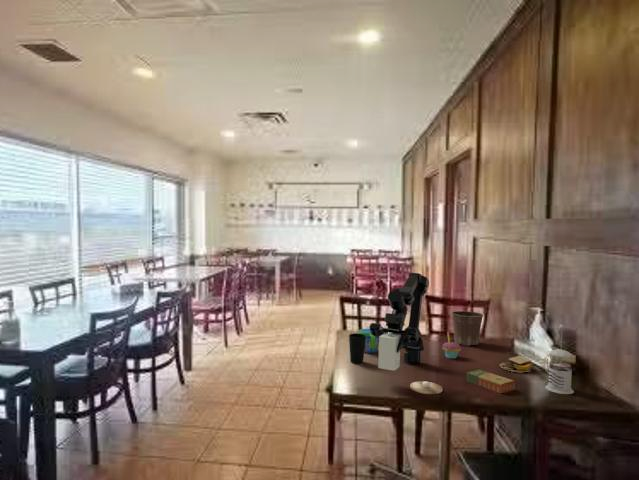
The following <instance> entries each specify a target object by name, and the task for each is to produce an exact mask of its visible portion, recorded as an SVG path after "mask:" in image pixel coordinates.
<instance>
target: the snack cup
mask: <svg viewBox="0 0 639 480" xmlns="http://www.w3.org/2000/svg"><path fill="white" fill-rule="evenodd" d="M358 334H364V335H366V342H365V350H364V353H366V354H367V353H368V354H374V353H377V352H378V351H379V338H377V336H373V335H372V334H371V331H370V329H369V328H361V329H359V331H358Z"/></svg>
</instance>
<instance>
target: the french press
mask: <svg viewBox="0 0 639 480" xmlns="http://www.w3.org/2000/svg"><path fill="white" fill-rule="evenodd" d="M558 327H559V328H560V329H565V327H566V326H565V325H564V324H560V325H559V326H558ZM560 332H561V337H560V349H558V348H557V349H552V350H550V351H549V352H548V353H549V354H547V355H545V357H544V359H543V361H546V362H548V361H549V360H548V359H549V358H550V359H552V360H553V359H554V357H556V358H557V357H558V358H560V359H559V361H557V360H556V361H550V363H549V365H548V363H546V365H545V364H543V366H544V367H543V368H544V369H545V372H547V374H548V381H547V385H545V387H544V388H545V389H546V390H547V391H549V392H552V393H556V394H560V395H561V394H562V395H571V394H574V393H575V391H574V390H573V389H572V375H573V374H572V373H573V372H572V371H573V369H572V368H571V367H572V365H571V364H569V363H566V362H562V359H570V358H573V357H574V356H573V353H570V352H569V351H567V350H564V349H562V343H563V341H562V340H563V330H561V331H560ZM551 356H552V357H551ZM546 366H547V369H548V370H547V369H546Z"/></svg>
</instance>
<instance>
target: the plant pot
mask: <svg viewBox="0 0 639 480" xmlns="http://www.w3.org/2000/svg"><path fill="white" fill-rule="evenodd" d="M451 316H452V321H453V332H454V335H453V336H454V343H457V344H459V345H461V346H467V347H471V346H470V345H476V346H479V343H480V336H481V335H480V334H481V326H482V323H483V317H484V314H483V313H480V312H476V311H470V310H469V311H468V310H458V311H457V310H455V311H452V312H451Z"/></svg>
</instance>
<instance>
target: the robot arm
mask: <svg viewBox="0 0 639 480" xmlns="http://www.w3.org/2000/svg"><path fill="white" fill-rule="evenodd" d="M429 285H430V281H429V279H428V277H426V276H425V275H422V274H421V273H419V272H418V273H417V272H410V273H408V277H407V280H406V281H405V282H404V284H403V286H402V287H399V288H394V290H391V291H390V292H389V293H388V295H387V300H388V303H389V305H390V308H391V309H392V311H391V313H390V312H388V313H387V312H386V313H385V316H384V322H386V323H385V326H386V327H383V326H382V324H381V323H377V322H371V323H370V324H369V327H368V329H370V331H371V334H372V335H373V336H377V338H379V336H381V335H383V334H384V333H387V334H388V332H392V334H394V335H401V338H400V341H399V344H398V346H397V351H396V352H397V353H398V352H399V351H400V352H401V350H402V349H404V352H403V359H402V362H404V363H406V364H408V365H421V364H423V362H422V361H421V355H422V354H421V352H423V351H424V350H425V343H424V340H423V337H422V335H423V334H422V332H421V330H420V321H421V314H422V313H421V312H422V304H423V296H425V294H427V291H428V288H429ZM407 306H410V311H409V318H408V319H409V320H408V325H407V326H406V328H404V327H405V321H406V318H407V315H408V309H409V308H408V307H407ZM403 328H404V329H403Z"/></svg>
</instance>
